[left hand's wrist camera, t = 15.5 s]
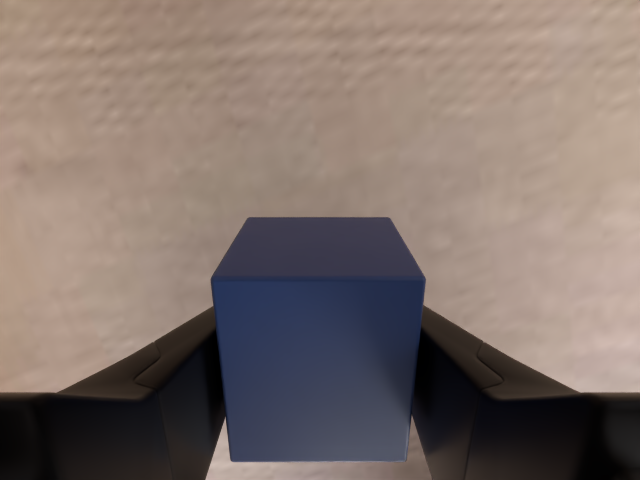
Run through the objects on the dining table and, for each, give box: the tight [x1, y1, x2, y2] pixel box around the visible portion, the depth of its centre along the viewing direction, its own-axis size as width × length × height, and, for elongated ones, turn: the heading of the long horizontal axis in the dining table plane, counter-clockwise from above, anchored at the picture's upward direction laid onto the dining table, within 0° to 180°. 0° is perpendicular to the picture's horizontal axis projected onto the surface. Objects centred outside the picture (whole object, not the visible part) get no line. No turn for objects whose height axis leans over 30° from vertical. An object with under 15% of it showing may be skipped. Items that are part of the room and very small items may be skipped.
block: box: [211, 217, 426, 462], centre depth 10 cm, size 5×4×4 cm
